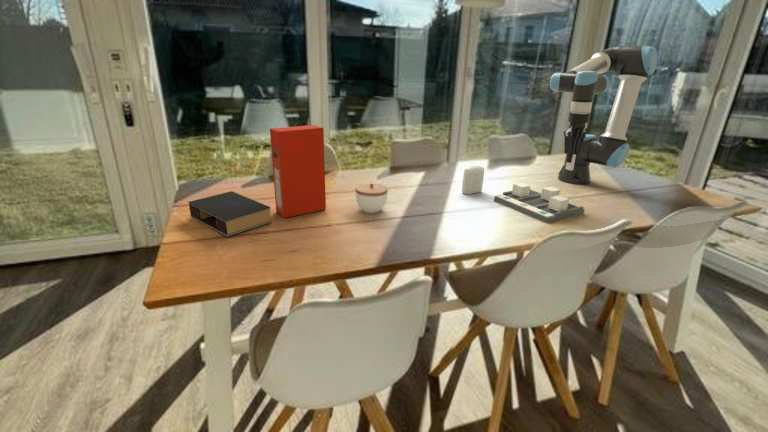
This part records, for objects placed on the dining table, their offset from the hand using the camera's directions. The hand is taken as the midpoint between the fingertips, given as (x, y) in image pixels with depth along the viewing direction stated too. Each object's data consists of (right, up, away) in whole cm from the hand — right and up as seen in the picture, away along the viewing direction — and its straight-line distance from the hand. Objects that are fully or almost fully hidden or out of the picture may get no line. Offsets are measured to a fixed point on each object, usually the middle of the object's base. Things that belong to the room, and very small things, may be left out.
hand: (569, 169), depth 171 cm
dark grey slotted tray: (-14, -16, 0) cm, 21 cm away
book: (-133, -22, -23) cm, 137 cm away
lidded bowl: (-83, -17, -9) cm, 85 cm away
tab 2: (-9, -17, -9) cm, 21 cm away
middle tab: (-8, -12, +2) cm, 15 cm away
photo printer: (-38, -9, +15) cm, 42 cm away
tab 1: (-19, -10, +6) cm, 22 cm away
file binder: (-110, -18, -12) cm, 112 cm away
